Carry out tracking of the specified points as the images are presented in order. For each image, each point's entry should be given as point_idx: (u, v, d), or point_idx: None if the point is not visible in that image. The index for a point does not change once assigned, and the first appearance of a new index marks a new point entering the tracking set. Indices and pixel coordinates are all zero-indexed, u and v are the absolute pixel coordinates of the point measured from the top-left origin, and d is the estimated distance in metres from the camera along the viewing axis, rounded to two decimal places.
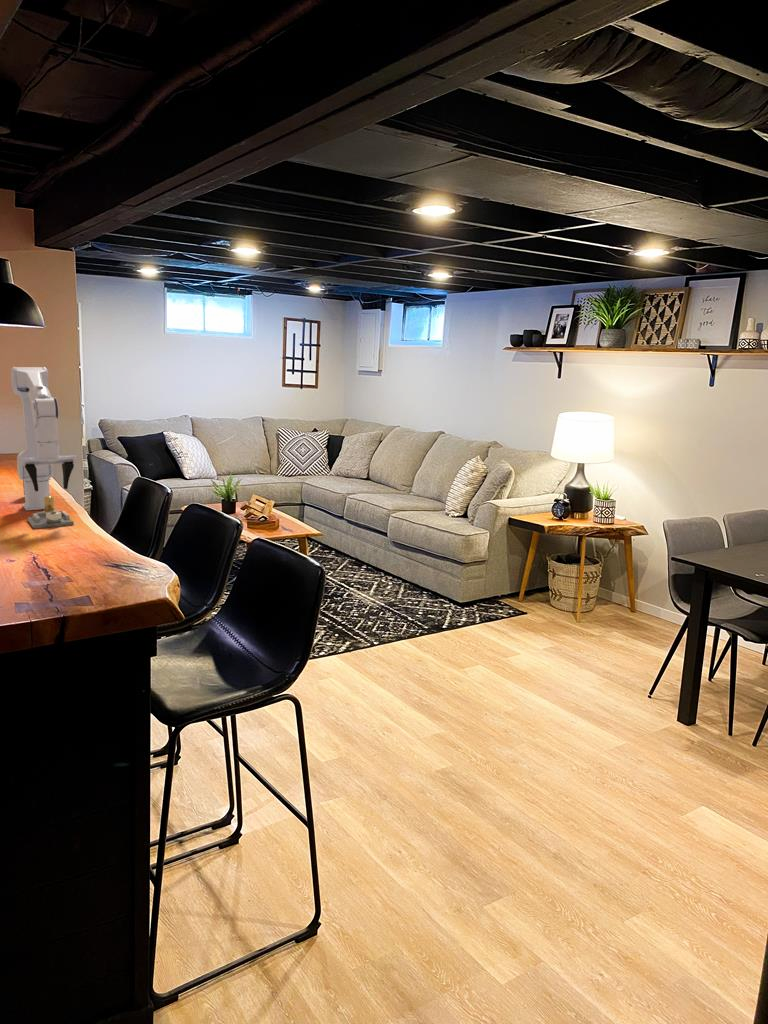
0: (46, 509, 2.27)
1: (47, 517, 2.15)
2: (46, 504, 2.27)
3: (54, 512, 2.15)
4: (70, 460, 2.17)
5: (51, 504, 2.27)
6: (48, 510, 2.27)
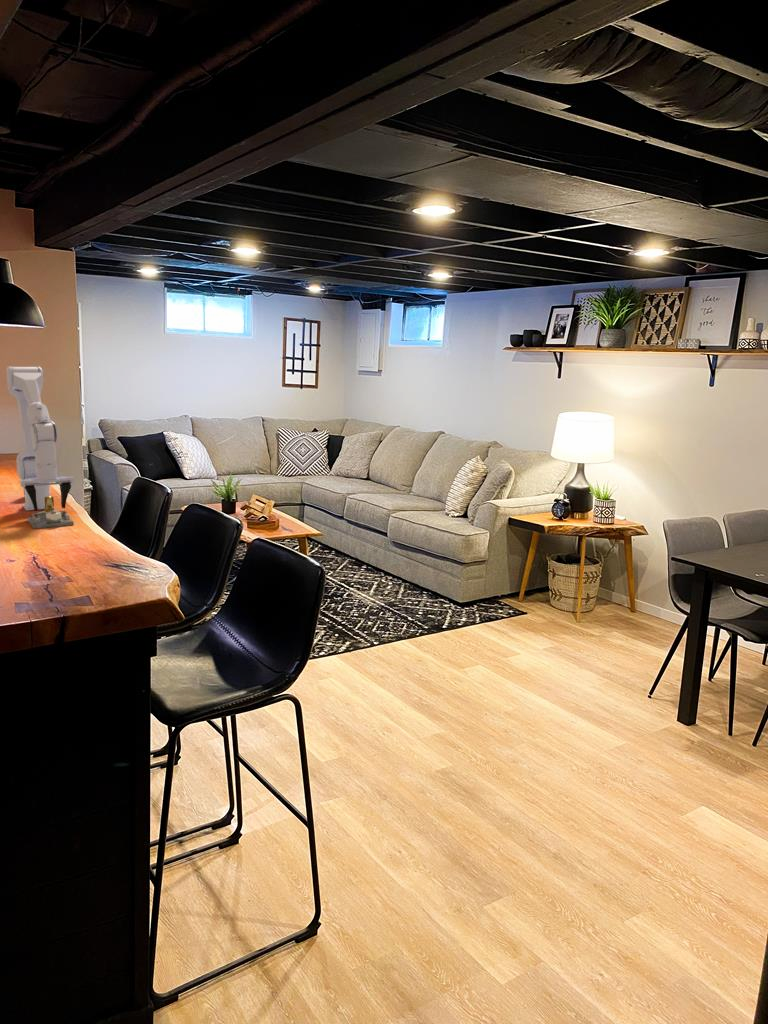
0: (46, 509, 2.27)
1: (47, 517, 2.15)
2: (46, 504, 2.27)
3: (54, 512, 2.15)
4: (67, 481, 2.29)
5: (51, 504, 2.27)
6: (48, 510, 2.27)
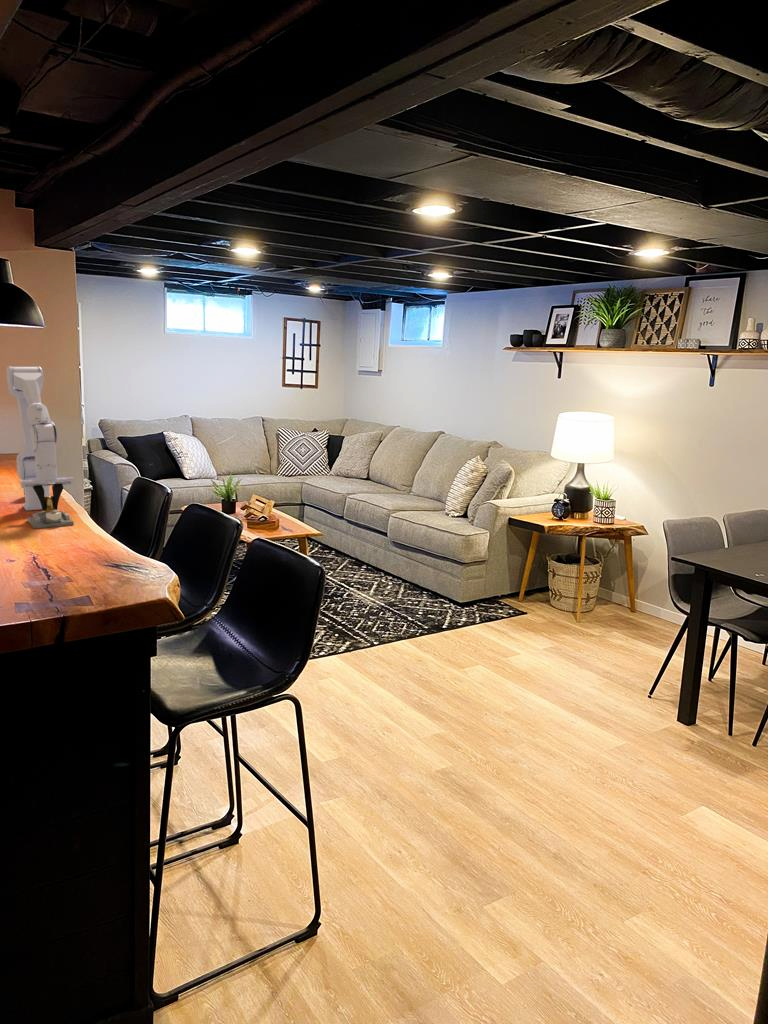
0: (46, 509, 2.27)
1: (47, 517, 2.15)
2: (46, 504, 2.26)
3: (54, 512, 2.15)
4: (68, 482, 2.29)
5: (51, 504, 2.27)
6: (48, 510, 2.27)
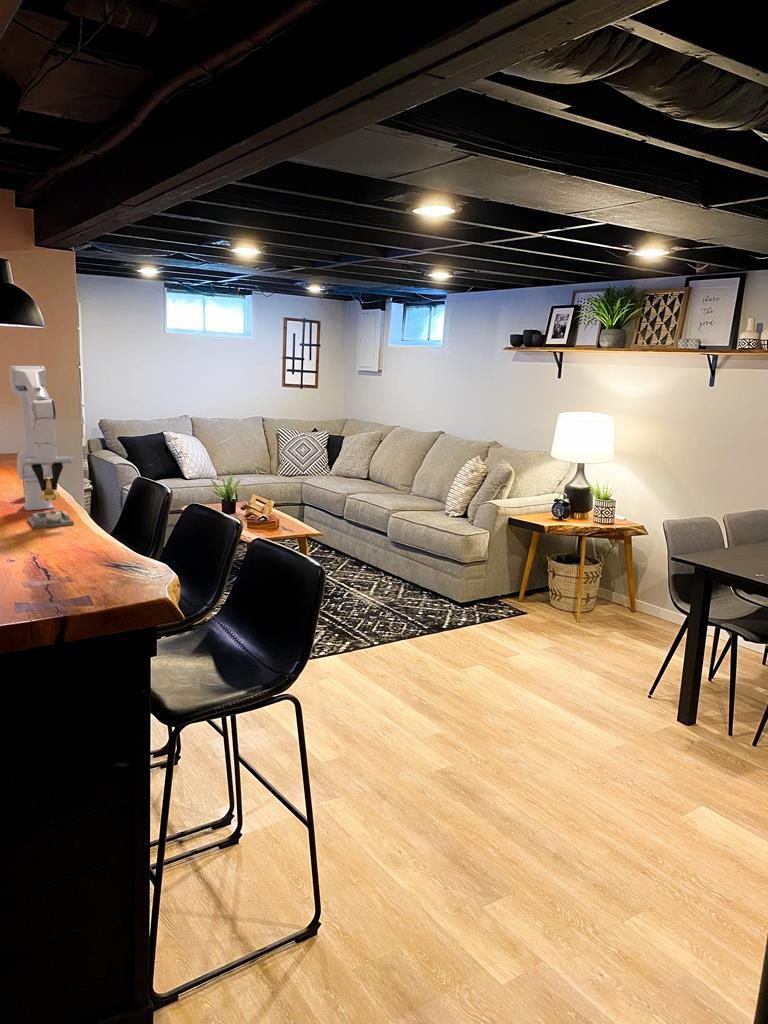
0: (45, 491, 2.18)
1: (47, 517, 2.15)
2: (45, 486, 2.18)
3: (54, 512, 2.15)
4: (67, 461, 2.20)
5: (50, 486, 2.18)
6: (47, 492, 2.18)
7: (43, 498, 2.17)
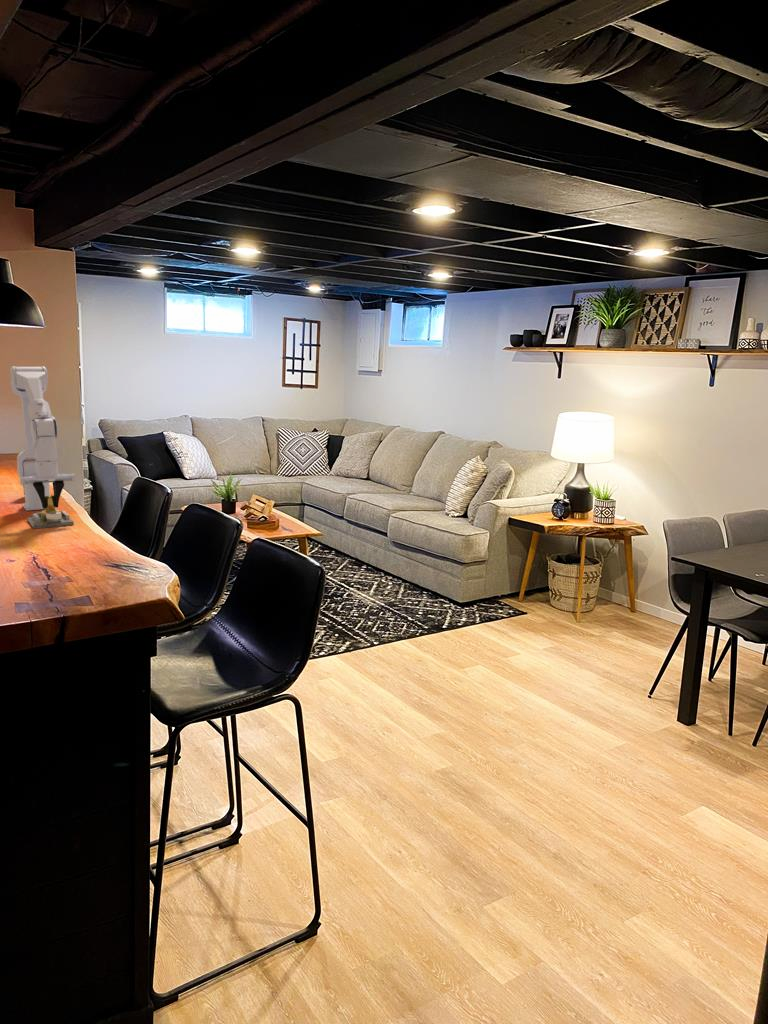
0: (46, 509, 2.19)
1: (47, 517, 2.15)
2: (46, 503, 2.19)
3: (54, 512, 2.15)
4: (69, 478, 2.21)
5: (52, 504, 2.19)
6: (48, 510, 2.19)
7: (44, 516, 2.18)
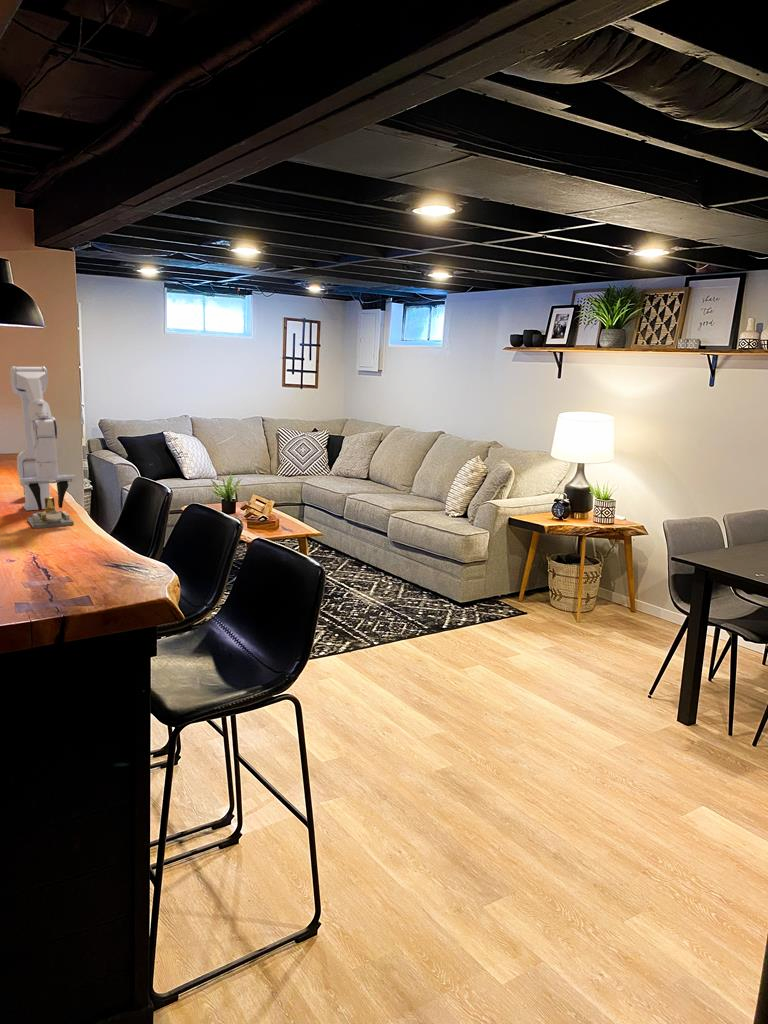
0: (46, 511, 2.19)
1: (47, 517, 2.15)
2: (46, 505, 2.19)
3: (54, 512, 2.15)
4: (69, 479, 2.21)
5: (51, 505, 2.20)
6: None
7: (44, 517, 2.19)
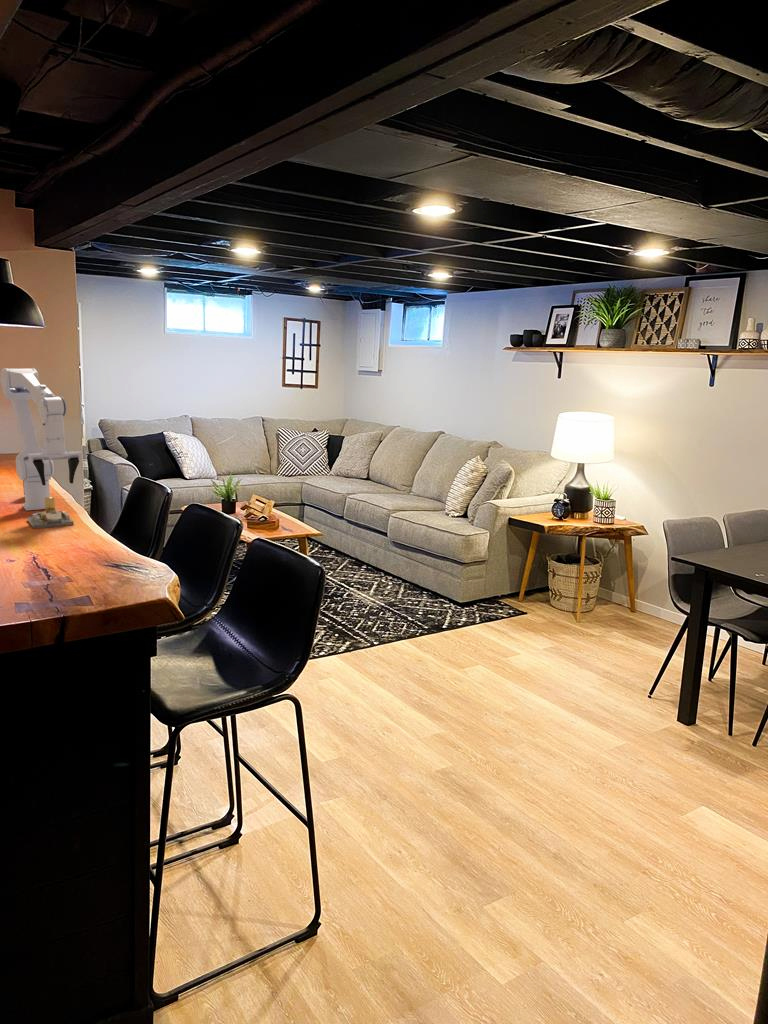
0: (46, 511, 2.20)
1: (47, 517, 2.15)
2: (46, 505, 2.19)
3: (54, 512, 2.15)
4: (76, 456, 2.28)
5: (52, 505, 2.20)
6: None
7: (44, 517, 2.19)
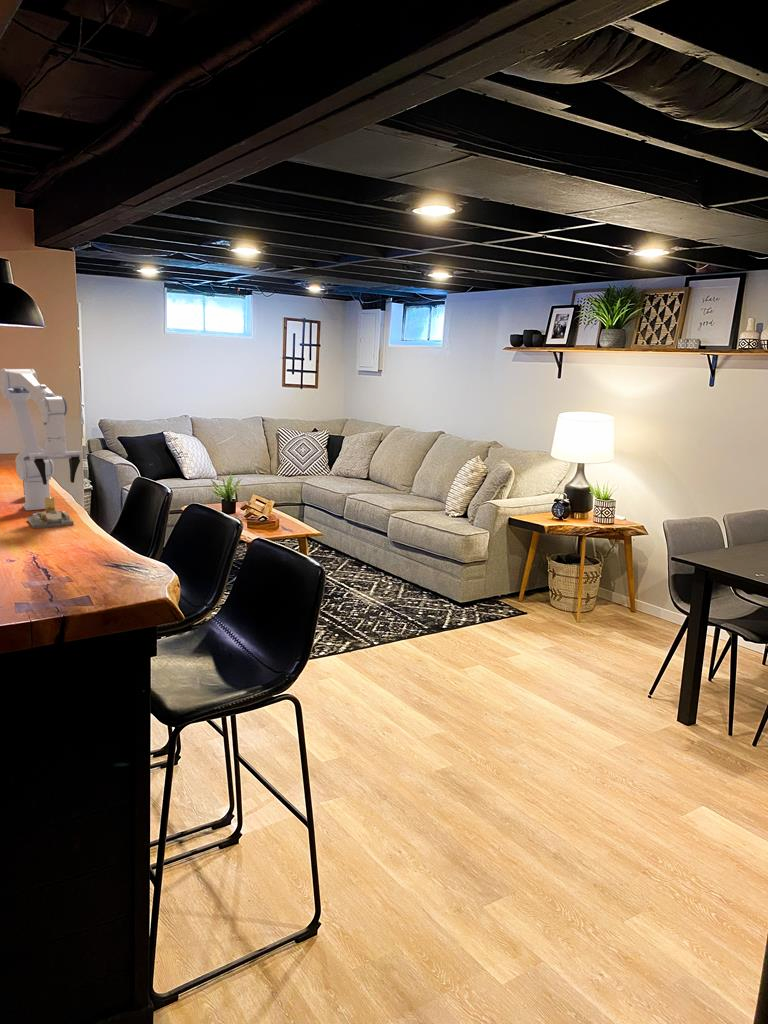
0: (46, 511, 2.20)
1: (47, 517, 2.15)
2: (46, 505, 2.19)
3: (54, 512, 2.15)
4: (77, 455, 2.29)
5: (52, 505, 2.20)
6: None
7: (44, 517, 2.19)
